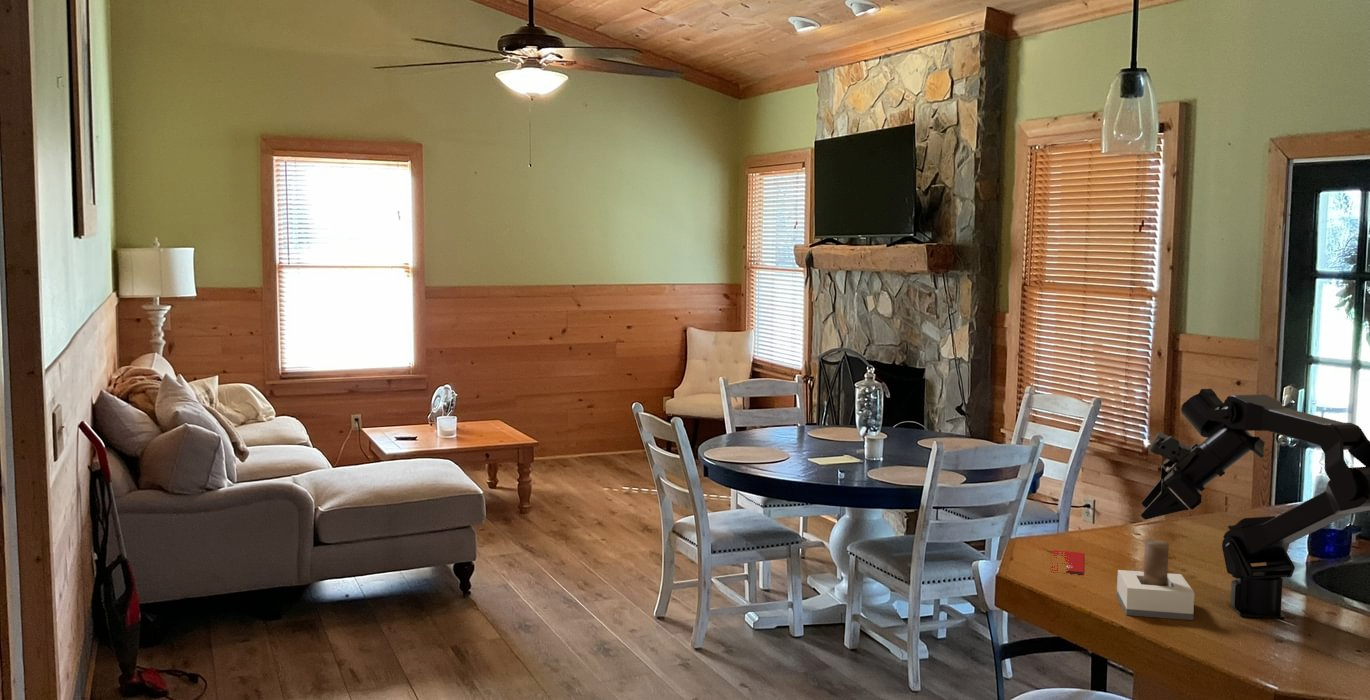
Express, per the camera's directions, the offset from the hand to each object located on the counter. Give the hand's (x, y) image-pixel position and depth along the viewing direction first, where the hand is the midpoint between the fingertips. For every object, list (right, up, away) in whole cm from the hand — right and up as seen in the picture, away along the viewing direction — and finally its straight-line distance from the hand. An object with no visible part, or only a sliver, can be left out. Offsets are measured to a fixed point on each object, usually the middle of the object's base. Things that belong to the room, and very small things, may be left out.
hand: (1142, 511), depth 187 cm
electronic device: (-7, -13, +16) cm, 22 cm away
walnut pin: (-2, -14, -9) cm, 17 cm away
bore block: (-2, -15, -9) cm, 17 cm away
